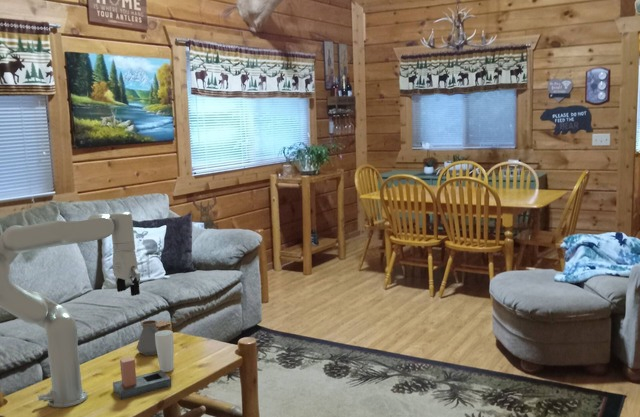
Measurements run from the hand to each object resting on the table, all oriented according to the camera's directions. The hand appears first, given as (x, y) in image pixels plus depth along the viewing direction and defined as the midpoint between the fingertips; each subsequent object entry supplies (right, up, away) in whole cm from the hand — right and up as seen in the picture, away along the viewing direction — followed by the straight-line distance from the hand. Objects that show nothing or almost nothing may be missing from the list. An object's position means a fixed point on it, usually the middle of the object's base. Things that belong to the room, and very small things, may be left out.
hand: (128, 292), depth 225 cm
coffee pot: (+2, -30, +33) cm, 45 cm away
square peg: (+1, -32, -3) cm, 32 cm away
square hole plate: (+5, -34, 0) cm, 35 cm away
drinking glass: (+10, -32, +16) cm, 37 cm away
